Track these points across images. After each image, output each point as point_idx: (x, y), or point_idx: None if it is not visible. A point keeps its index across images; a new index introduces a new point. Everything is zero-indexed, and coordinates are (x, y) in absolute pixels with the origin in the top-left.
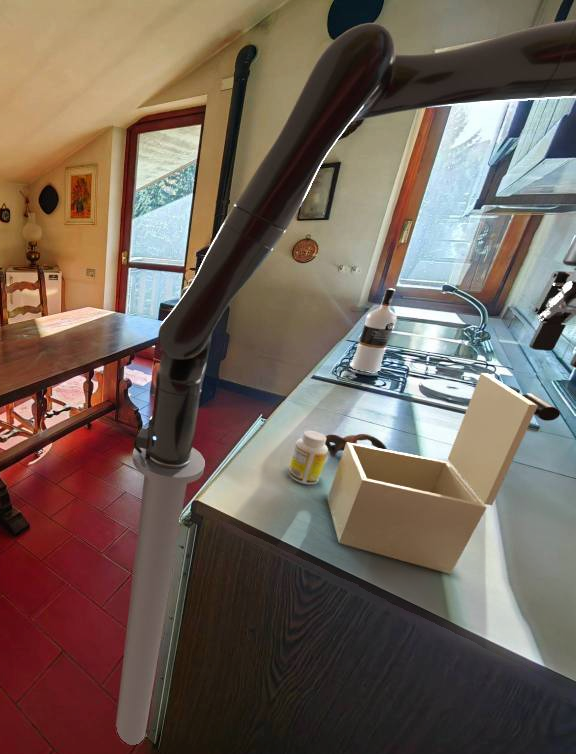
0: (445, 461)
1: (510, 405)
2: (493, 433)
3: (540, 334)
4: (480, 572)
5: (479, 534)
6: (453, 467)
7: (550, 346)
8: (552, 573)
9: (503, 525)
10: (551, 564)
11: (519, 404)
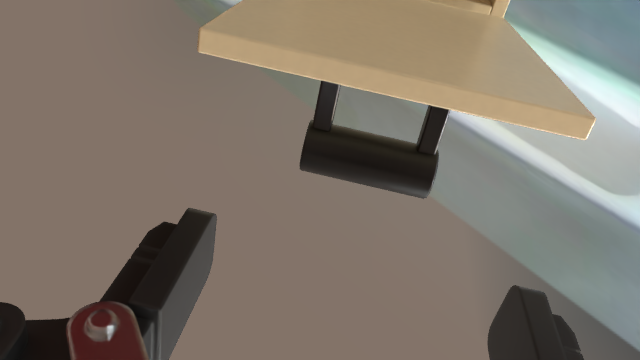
0: (501, 12)
1: (307, 39)
2: (348, 18)
3: (531, 351)
4: None
5: None
6: None
7: (492, 341)
8: (365, 129)
9: (483, 143)
10: None
11: (256, 34)
